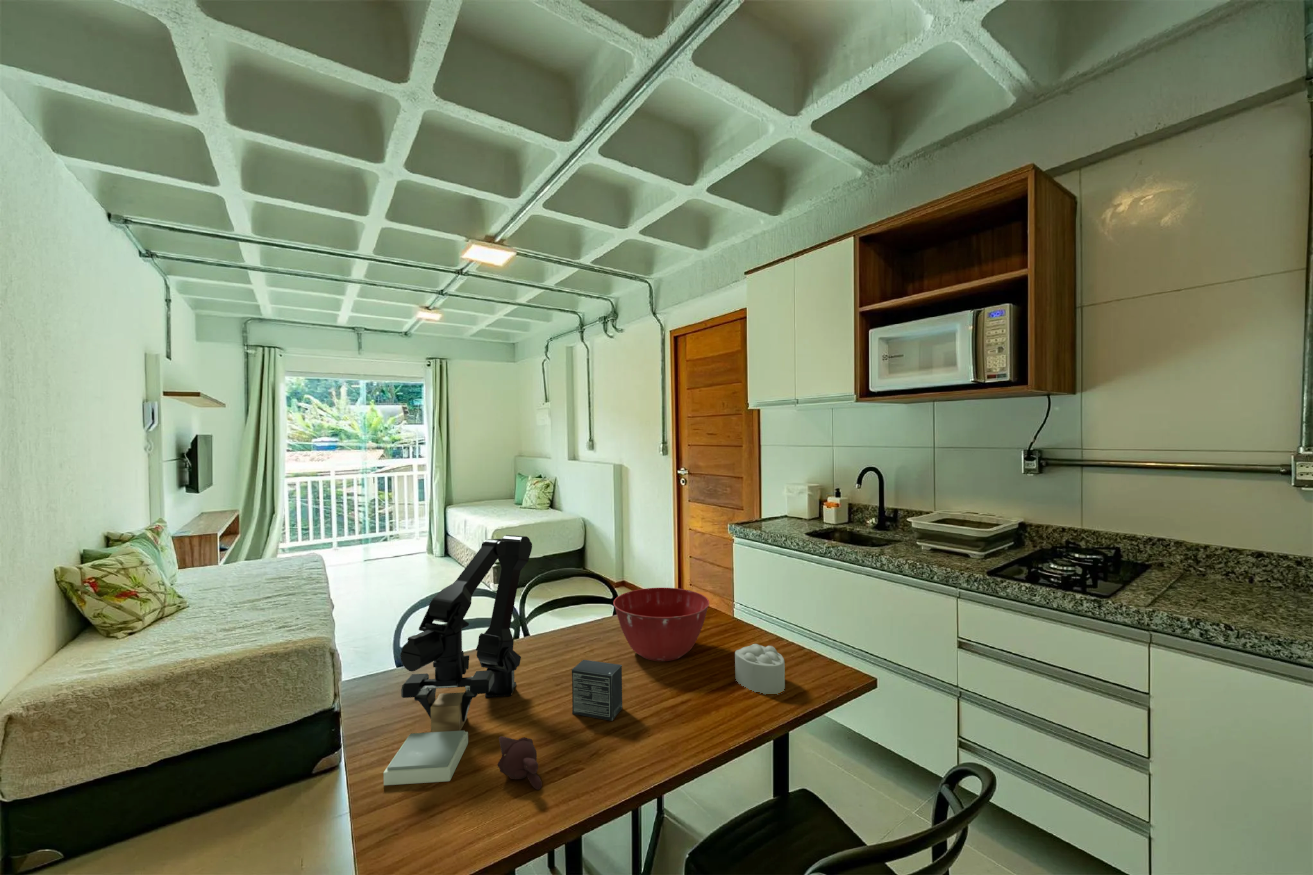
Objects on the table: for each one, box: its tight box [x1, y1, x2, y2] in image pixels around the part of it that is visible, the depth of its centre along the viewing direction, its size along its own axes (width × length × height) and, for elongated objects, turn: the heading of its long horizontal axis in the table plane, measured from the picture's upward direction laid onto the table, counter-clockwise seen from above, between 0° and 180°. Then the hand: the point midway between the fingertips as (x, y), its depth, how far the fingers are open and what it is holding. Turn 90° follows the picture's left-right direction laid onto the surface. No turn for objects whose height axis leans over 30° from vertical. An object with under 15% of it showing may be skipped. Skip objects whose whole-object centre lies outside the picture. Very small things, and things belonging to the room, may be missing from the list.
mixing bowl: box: [612, 587, 710, 662], centre depth 153 cm, size 28×28×15 cm
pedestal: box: [383, 729, 469, 786], centre depth 102 cm, size 12×12×3 cm
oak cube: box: [430, 691, 468, 732], centre depth 115 cm, size 6×6×6 cm
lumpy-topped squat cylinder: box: [734, 643, 786, 695], centre depth 133 cm, size 10×13×9 cm
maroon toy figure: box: [497, 735, 543, 791], centre depth 99 cm, size 7×7×15 cm
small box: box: [571, 659, 623, 722], centre depth 121 cm, size 11×6×10 cm, turn 71°
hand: (449, 721), depth 115 cm, fingers closed on oak cube, 6 cm apart
